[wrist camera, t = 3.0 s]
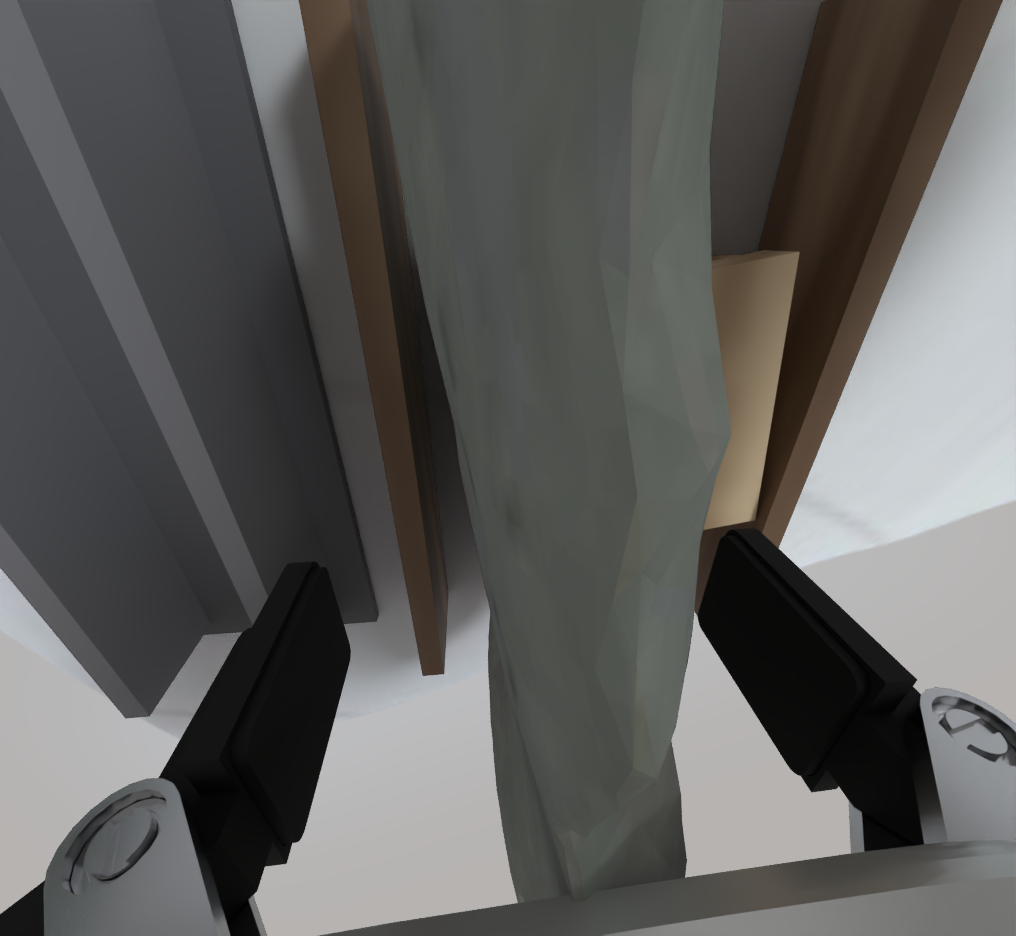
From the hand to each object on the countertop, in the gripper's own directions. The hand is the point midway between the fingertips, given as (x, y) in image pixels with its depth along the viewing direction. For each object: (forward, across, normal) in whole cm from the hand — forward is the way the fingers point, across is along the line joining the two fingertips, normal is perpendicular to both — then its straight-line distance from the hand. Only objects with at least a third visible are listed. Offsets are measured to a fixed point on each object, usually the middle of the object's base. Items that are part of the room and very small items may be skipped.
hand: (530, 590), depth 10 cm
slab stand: (+14, +15, -1) cm, 21 cm away
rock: (+14, -1, -1) cm, 14 cm away
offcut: (+10, -9, -1) cm, 14 cm away
